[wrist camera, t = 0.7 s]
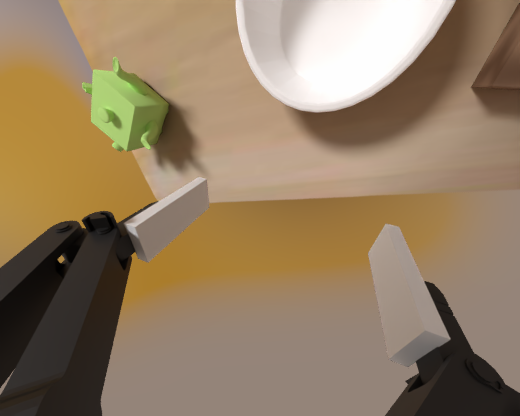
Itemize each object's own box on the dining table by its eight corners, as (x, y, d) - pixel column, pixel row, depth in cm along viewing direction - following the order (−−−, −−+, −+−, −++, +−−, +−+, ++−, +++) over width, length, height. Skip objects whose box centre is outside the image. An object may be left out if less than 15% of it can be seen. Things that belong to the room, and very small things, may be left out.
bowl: (405, -225, 17) (450, -438, 10) (461, 36, 23) (513, 12, 16) (231, 2, 29) (199, -26, 22) (299, 134, 35) (291, 144, 28)
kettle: (163, 64, 37) (107, 55, 28) (188, 138, 43) (149, 150, 34) (115, 81, 42) (55, 78, 33) (143, 145, 49) (100, 157, 40)
